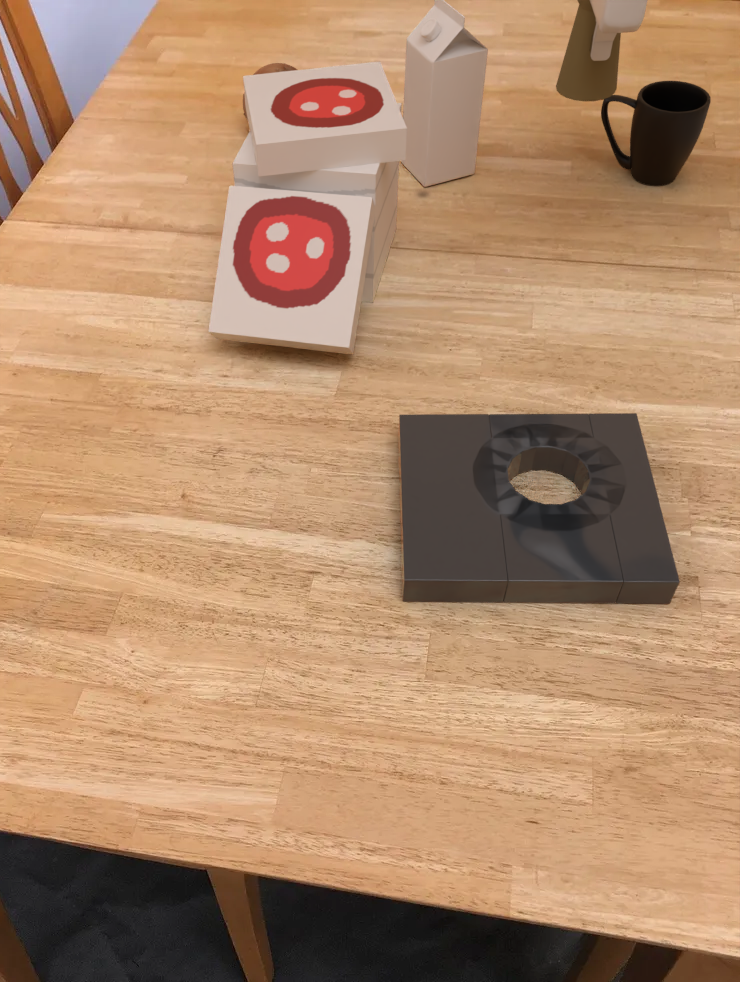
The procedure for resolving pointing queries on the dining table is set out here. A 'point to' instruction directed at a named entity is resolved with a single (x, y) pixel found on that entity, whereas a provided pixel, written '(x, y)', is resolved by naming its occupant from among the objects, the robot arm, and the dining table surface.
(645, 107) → the mug
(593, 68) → the brown pawn shaped plug
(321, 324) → the pizza boxes
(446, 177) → the milk carton
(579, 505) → the drain plate
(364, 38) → the dining table surface
